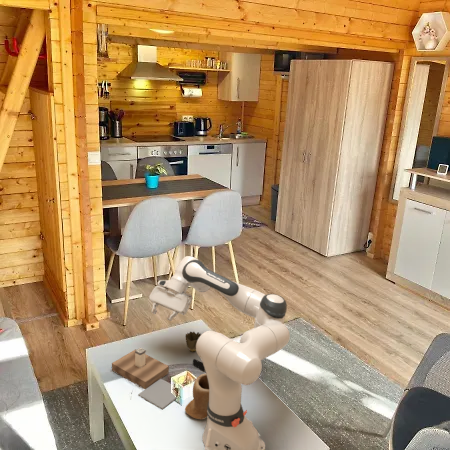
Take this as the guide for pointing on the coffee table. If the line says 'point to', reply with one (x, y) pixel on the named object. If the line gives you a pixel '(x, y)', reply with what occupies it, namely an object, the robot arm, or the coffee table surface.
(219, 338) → the robot arm
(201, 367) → the electric trimmer
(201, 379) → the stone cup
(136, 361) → the beige square peg
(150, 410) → the coffee table surface
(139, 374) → the wooden block with hole
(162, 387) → the mat
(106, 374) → the coffee table surface
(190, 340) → the cup
